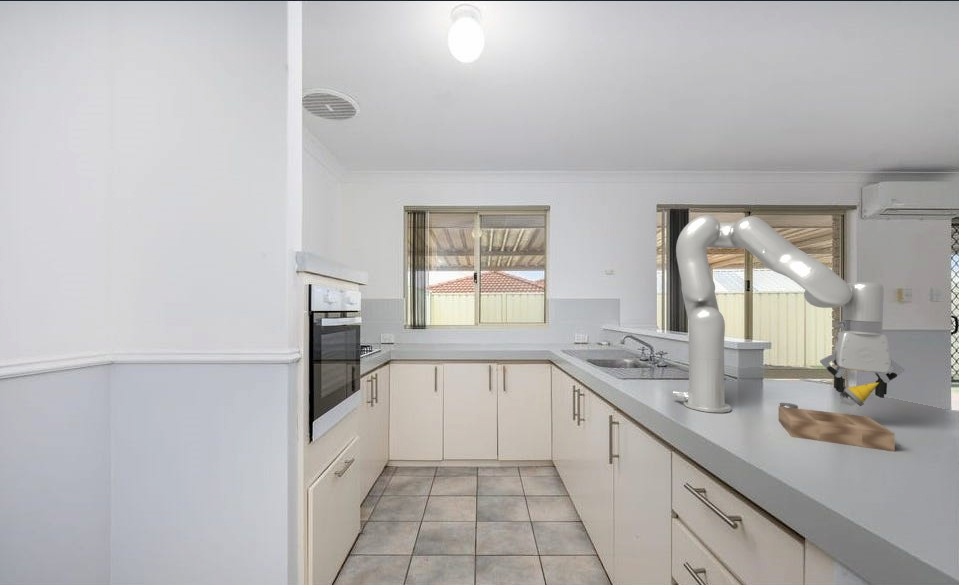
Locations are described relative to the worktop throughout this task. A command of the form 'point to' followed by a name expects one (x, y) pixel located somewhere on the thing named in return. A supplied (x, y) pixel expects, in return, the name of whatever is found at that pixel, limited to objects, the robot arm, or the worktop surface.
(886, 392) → the robot arm
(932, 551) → the worktop surface
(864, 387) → the yellow cone
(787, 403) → the short pin
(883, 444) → the wooden tray
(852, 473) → the worktop surface
